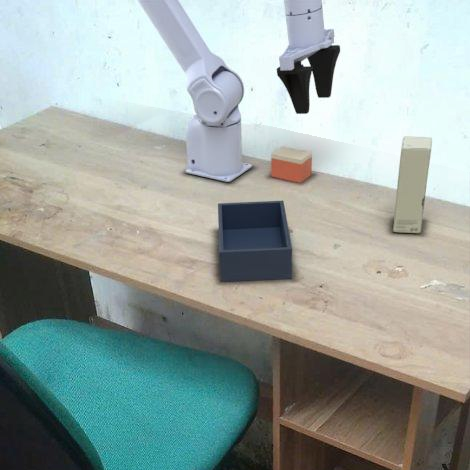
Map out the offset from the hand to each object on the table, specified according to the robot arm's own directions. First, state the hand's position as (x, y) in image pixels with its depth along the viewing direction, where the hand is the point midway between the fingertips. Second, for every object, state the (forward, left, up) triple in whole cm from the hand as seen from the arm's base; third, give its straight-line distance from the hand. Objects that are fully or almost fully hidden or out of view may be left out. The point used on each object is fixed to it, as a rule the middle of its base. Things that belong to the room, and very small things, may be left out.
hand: (313, 105), depth 131 cm
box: (+22, -9, -12) cm, 27 cm away
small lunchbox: (-4, 0, -12) cm, 13 cm away
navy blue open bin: (+6, -29, -12) cm, 32 cm away
